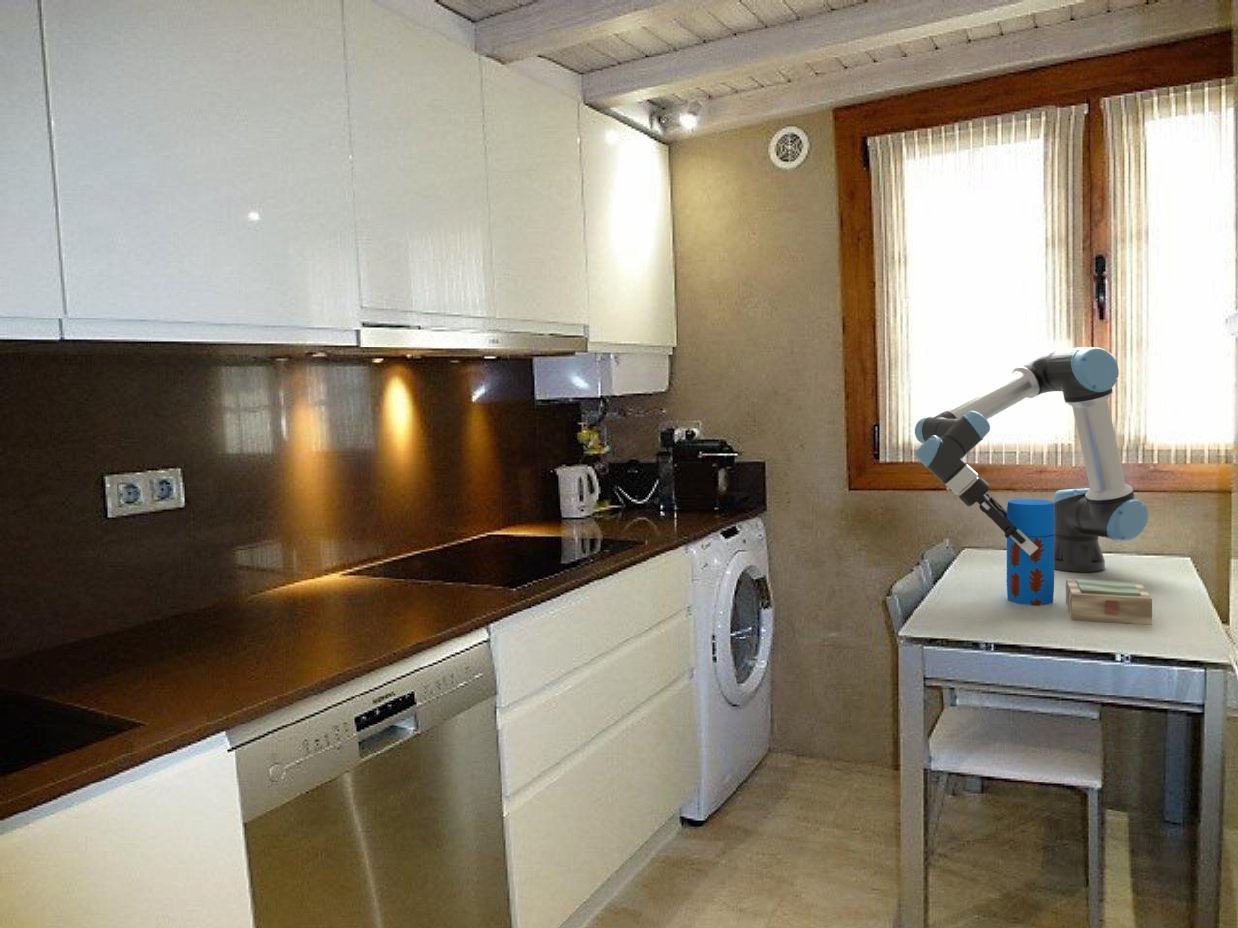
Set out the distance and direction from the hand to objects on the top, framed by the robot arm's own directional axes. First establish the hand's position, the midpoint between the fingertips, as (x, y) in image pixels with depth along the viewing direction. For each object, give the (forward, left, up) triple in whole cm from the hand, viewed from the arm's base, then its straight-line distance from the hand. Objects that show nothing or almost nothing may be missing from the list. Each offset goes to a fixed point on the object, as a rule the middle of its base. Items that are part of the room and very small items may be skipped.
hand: (1032, 546), depth 221 cm
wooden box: (+9, +15, -14) cm, 22 cm away
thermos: (0, -1, -14) cm, 14 cm away
